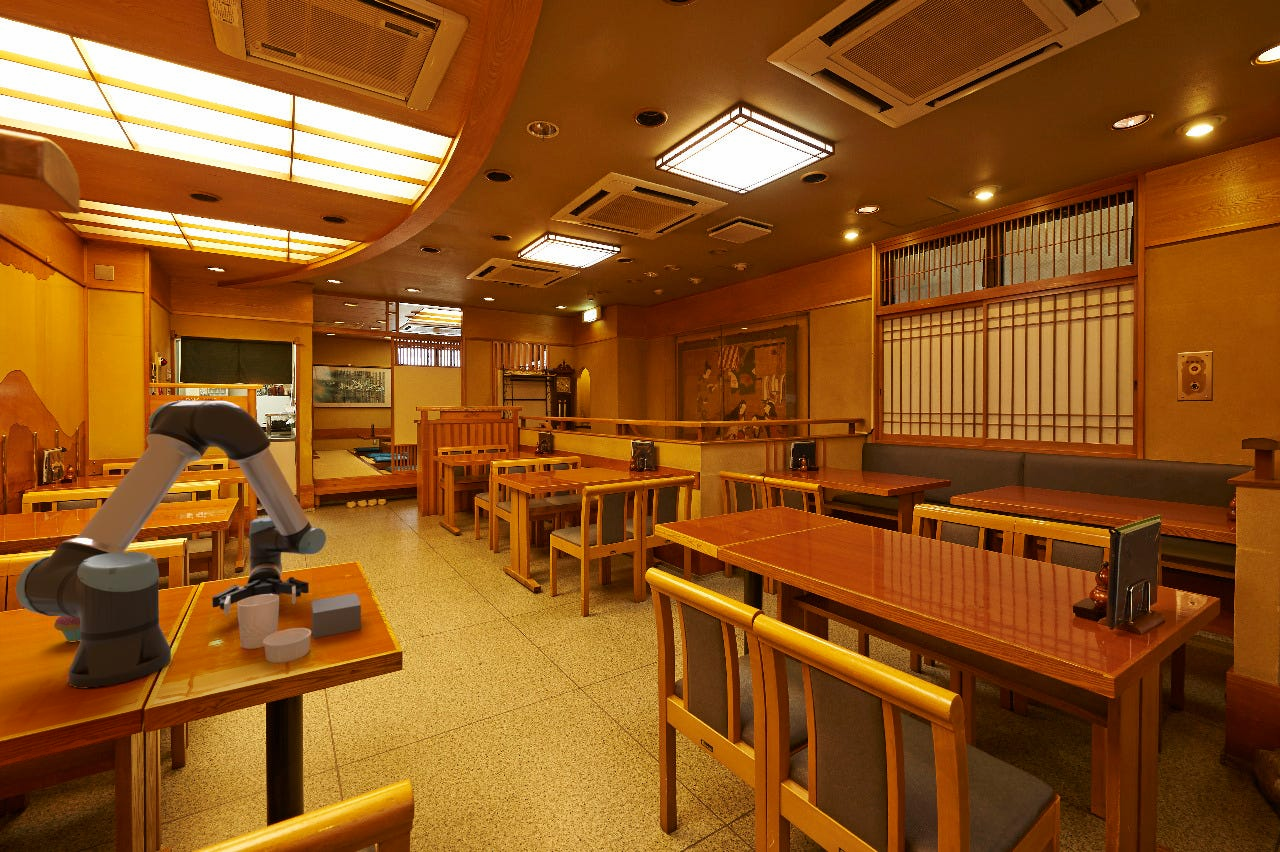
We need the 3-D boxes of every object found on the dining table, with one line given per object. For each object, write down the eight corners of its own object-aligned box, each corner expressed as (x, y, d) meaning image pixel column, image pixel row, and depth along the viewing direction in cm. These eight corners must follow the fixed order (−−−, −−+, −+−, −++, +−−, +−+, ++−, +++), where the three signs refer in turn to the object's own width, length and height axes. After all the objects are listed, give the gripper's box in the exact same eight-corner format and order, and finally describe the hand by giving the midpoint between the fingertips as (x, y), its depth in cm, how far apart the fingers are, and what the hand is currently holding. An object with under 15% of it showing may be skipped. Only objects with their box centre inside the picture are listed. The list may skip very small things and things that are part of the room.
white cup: (288, 636, 128) (287, 594, 128) (261, 651, 120) (260, 606, 120) (257, 635, 129) (256, 593, 128) (228, 649, 121) (228, 605, 120)
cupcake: (109, 628, 132) (107, 579, 132) (105, 639, 126) (104, 588, 125) (58, 637, 127) (56, 587, 126) (51, 650, 120) (49, 596, 120)
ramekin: (311, 658, 117) (310, 639, 116) (261, 668, 112) (260, 648, 112) (312, 643, 124) (312, 624, 124) (265, 652, 120) (265, 632, 120)
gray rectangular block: (313, 638, 127) (312, 613, 126) (311, 624, 135) (311, 600, 135) (361, 629, 132) (360, 604, 132) (356, 616, 140) (356, 593, 140)
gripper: (317, 586, 157) (320, 608, 139) (207, 602, 143) (195, 630, 126) (316, 560, 157) (319, 579, 139) (207, 574, 143) (195, 598, 125)
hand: (261, 603), depth 132 cm, fingers open, 13 cm apart
